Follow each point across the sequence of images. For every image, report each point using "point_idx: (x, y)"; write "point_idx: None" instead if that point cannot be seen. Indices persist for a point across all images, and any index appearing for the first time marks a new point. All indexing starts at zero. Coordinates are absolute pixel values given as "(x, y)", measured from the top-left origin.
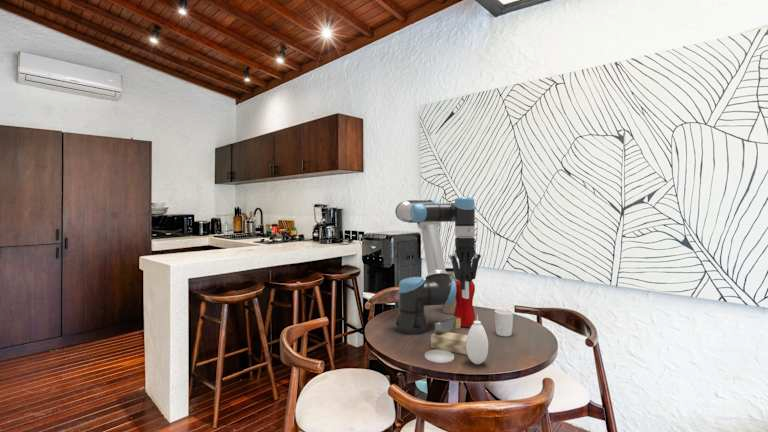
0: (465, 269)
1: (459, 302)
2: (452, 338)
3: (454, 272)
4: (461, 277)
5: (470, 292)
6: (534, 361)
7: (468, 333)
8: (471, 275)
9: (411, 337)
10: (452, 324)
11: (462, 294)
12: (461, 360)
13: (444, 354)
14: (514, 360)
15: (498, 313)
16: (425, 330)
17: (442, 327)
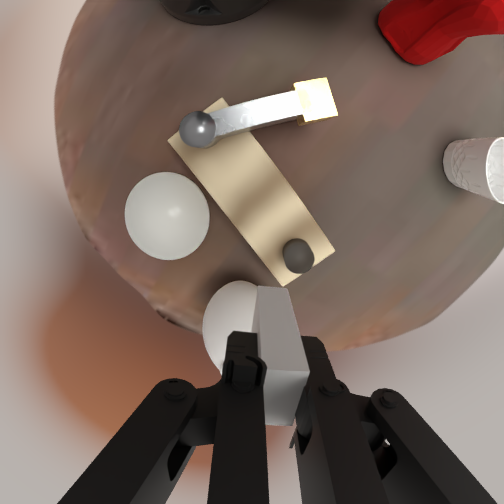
0: (333, 497)
1: (427, 2)
2: (224, 201)
3: (112, 447)
4: (241, 412)
5: (489, 31)
6: (374, 337)
7: (207, 333)
8: (387, 427)
9: (170, 43)
10: (283, 120)
11: (257, 301)
12: (213, 263)
13: (182, 218)
14: (342, 318)
15: (485, 172)
16: (242, 16)
17: (211, 143)
